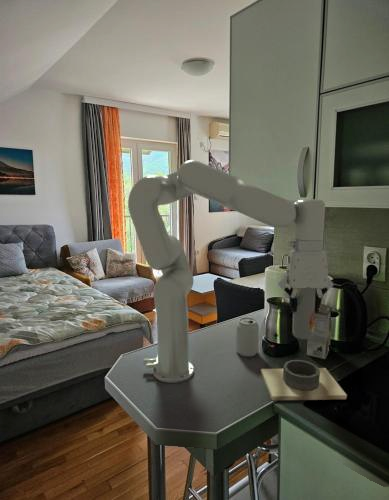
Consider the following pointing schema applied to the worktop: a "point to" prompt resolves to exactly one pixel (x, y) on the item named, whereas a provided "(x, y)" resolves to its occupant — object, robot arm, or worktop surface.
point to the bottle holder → (301, 382)
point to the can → (247, 337)
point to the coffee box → (320, 333)
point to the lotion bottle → (304, 313)
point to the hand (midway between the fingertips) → (304, 309)
